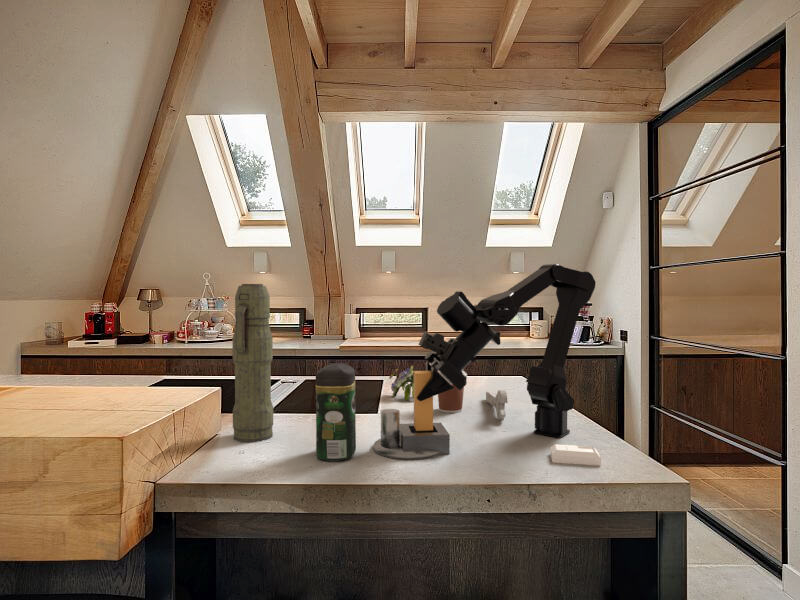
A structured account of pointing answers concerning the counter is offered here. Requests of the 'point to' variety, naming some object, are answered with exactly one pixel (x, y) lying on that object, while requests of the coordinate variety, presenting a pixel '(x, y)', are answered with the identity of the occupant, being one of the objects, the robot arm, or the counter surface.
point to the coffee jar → (335, 412)
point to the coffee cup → (451, 399)
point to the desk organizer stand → (409, 439)
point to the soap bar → (575, 454)
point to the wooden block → (422, 403)
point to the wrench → (498, 402)
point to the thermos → (252, 364)
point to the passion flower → (403, 383)
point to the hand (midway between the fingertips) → (416, 397)
